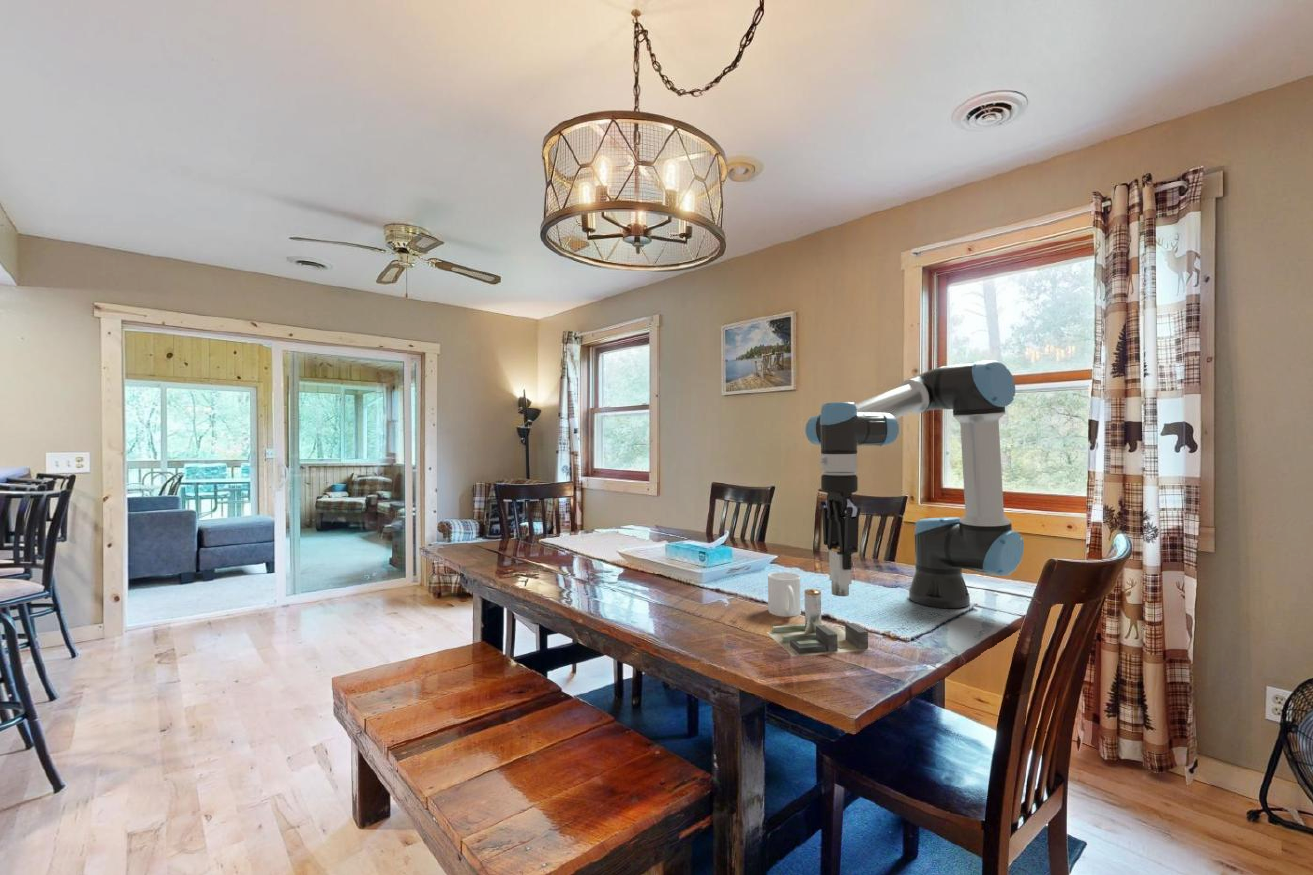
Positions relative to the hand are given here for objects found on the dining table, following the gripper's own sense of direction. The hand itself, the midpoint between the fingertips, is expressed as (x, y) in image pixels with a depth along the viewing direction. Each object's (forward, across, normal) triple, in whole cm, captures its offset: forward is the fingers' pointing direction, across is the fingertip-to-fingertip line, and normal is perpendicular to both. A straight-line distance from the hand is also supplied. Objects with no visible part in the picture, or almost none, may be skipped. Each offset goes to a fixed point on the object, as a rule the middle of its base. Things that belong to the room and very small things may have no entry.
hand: (840, 581), depth 122 cm
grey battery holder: (+15, -4, -4) cm, 16 cm away
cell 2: (+3, 0, 0) cm, 3 cm away
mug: (+15, -23, -3) cm, 28 cm away
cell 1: (+14, -8, -3) cm, 16 cm away
